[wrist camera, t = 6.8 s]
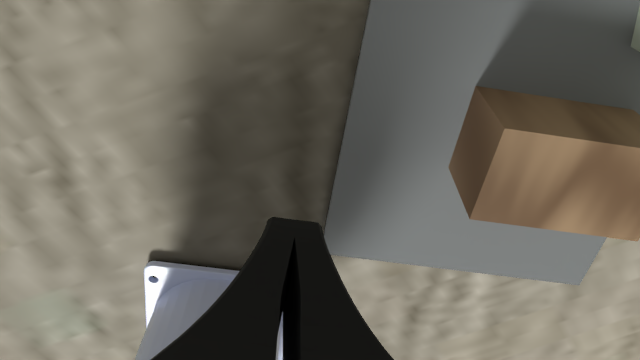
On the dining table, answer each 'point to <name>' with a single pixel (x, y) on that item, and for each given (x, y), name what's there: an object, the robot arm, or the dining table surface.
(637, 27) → the sage block
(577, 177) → the walnut block
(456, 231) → the mat
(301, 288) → the robot arm
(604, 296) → the dining table surface
